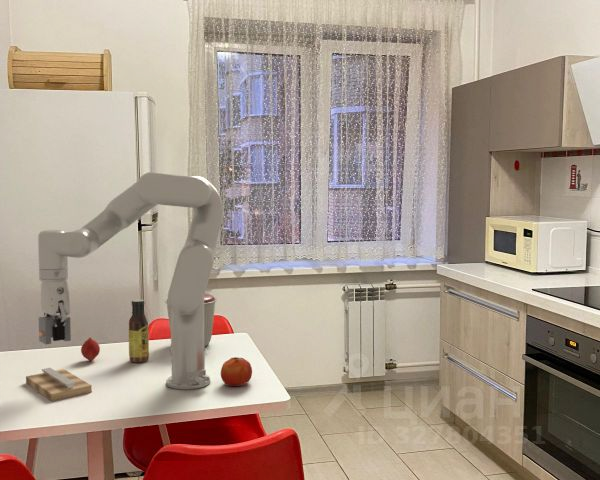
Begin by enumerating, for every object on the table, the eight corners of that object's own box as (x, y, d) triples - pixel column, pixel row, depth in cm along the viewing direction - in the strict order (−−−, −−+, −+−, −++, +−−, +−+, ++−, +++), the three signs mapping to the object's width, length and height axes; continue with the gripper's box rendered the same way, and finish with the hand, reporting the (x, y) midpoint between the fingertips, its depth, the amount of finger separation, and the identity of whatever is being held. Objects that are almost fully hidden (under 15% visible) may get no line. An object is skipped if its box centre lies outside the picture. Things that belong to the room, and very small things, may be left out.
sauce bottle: (146, 363, 208) (144, 302, 206) (126, 363, 208) (125, 302, 206) (151, 357, 215) (149, 298, 213) (132, 357, 215) (130, 298, 213)
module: (70, 340, 184) (70, 317, 183) (43, 344, 179) (42, 321, 178) (63, 336, 188) (63, 314, 187) (37, 341, 183) (36, 317, 182)
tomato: (223, 390, 183) (222, 363, 182) (218, 380, 191) (218, 354, 191) (255, 388, 185) (255, 360, 184) (249, 378, 194) (249, 351, 193)
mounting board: (91, 392, 181) (91, 385, 181) (52, 401, 174) (51, 394, 174) (63, 375, 196) (63, 368, 196) (26, 383, 189) (25, 376, 189)
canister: (200, 336, 243) (199, 280, 241) (227, 346, 229) (226, 287, 227) (156, 344, 232) (155, 285, 229) (181, 355, 218) (180, 293, 215)
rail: (74, 387, 179) (74, 382, 179) (66, 389, 177) (66, 384, 177) (50, 372, 192) (50, 367, 192) (42, 374, 191) (41, 369, 191)
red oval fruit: (77, 362, 210) (76, 337, 209) (90, 357, 215) (90, 333, 214) (90, 364, 207) (89, 339, 206) (103, 359, 212) (103, 335, 211)
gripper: (79, 277, 178) (80, 342, 180) (55, 269, 190) (56, 330, 192) (51, 279, 173) (53, 346, 175) (29, 271, 185) (30, 334, 187)
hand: (54, 337), depth 183 cm, fingers closed on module, 5 cm apart
